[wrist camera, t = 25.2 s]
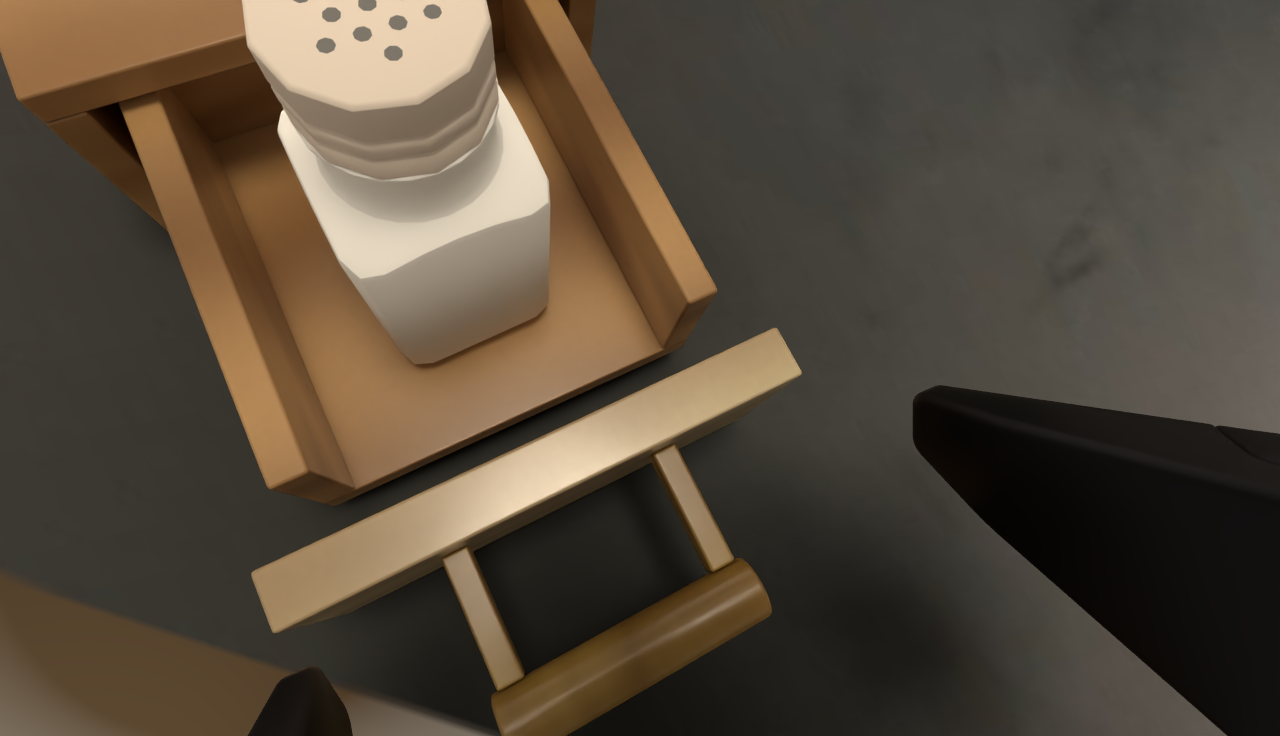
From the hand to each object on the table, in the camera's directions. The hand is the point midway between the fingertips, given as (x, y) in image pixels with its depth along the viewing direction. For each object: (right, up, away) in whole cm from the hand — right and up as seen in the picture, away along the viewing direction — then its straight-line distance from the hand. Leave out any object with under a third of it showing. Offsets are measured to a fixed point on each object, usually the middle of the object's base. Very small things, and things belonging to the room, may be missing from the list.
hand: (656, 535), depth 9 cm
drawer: (-4, +3, +9) cm, 11 cm away
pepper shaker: (-5, +5, +9) cm, 11 cm away
